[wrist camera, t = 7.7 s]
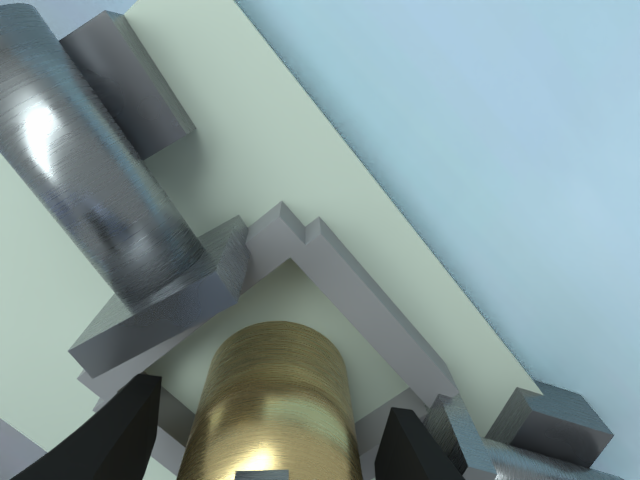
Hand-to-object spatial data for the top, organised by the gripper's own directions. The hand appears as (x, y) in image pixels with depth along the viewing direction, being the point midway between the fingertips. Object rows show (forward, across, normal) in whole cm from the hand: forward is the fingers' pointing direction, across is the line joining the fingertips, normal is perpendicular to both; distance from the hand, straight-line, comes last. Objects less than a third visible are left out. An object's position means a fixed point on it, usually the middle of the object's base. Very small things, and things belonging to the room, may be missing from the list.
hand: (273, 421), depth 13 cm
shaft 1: (+3, +5, -6) cm, 8 cm away
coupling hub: (+2, 0, 0) cm, 2 cm away
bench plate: (+3, +1, +1) cm, 3 cm away
